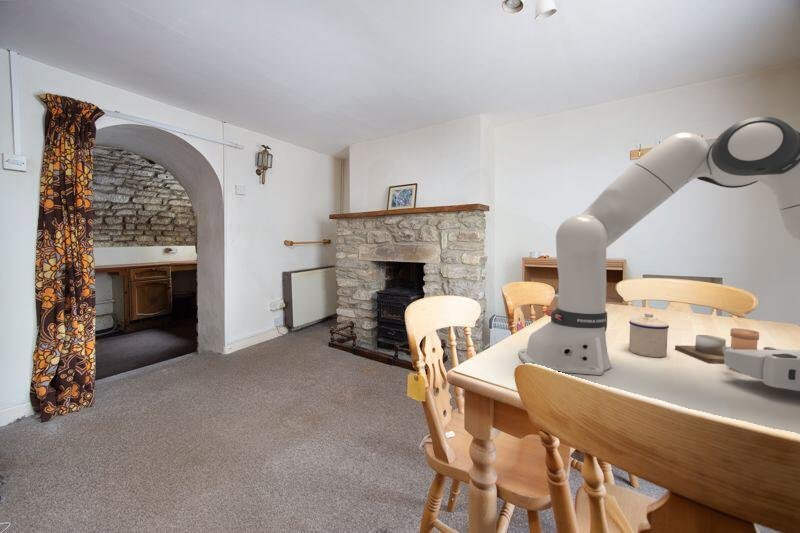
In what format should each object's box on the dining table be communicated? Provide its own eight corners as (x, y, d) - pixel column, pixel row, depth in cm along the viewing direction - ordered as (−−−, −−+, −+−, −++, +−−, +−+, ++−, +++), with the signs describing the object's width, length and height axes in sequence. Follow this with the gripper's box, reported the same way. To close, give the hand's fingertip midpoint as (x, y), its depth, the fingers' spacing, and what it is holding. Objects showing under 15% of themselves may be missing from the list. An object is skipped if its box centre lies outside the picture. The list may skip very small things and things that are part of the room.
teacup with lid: (676, 358, 88) (678, 316, 87) (641, 357, 88) (642, 316, 88) (646, 344, 99) (647, 308, 99) (615, 344, 100) (617, 307, 99)
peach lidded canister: (741, 374, 77) (744, 333, 76) (722, 366, 82) (725, 328, 81) (762, 374, 77) (765, 333, 76) (742, 366, 81) (744, 328, 81)
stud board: (708, 363, 84) (709, 343, 84) (675, 349, 95) (675, 332, 94) (764, 363, 83) (766, 344, 83) (724, 349, 94) (725, 332, 94)
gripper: (873, 358, 64) (792, 337, 77) (764, 356, 65) (703, 336, 78) (870, 388, 64) (789, 362, 78) (762, 386, 65) (702, 361, 79)
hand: (745, 349), depth 78 cm, fingers open, 8 cm apart
